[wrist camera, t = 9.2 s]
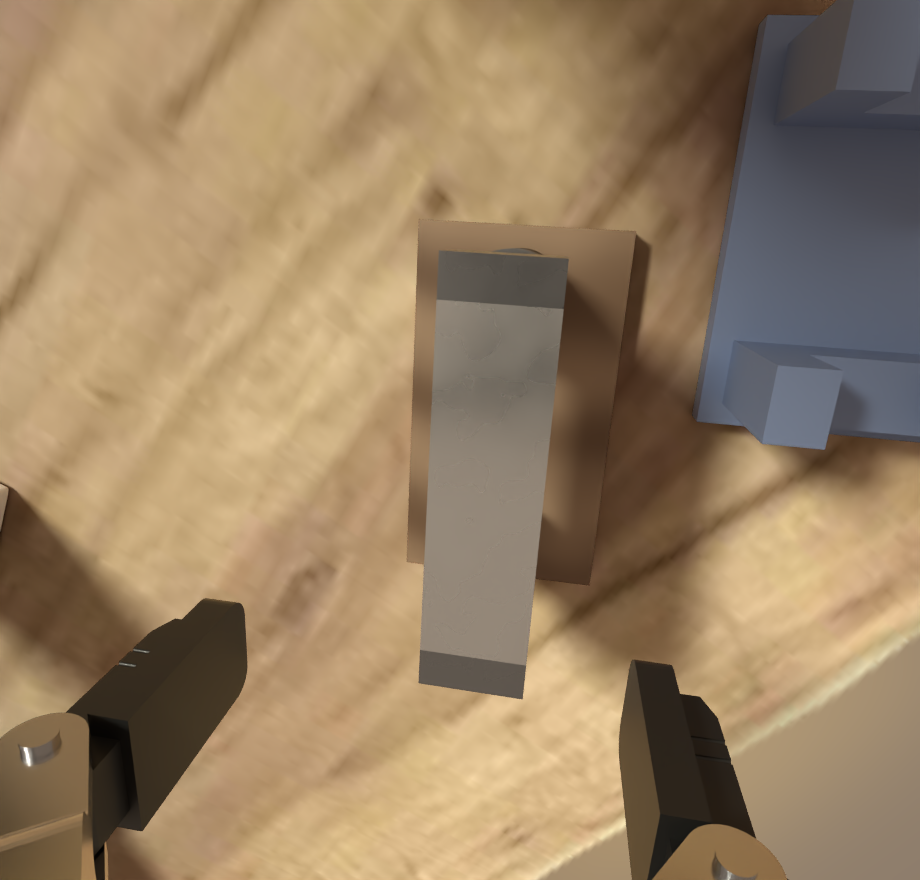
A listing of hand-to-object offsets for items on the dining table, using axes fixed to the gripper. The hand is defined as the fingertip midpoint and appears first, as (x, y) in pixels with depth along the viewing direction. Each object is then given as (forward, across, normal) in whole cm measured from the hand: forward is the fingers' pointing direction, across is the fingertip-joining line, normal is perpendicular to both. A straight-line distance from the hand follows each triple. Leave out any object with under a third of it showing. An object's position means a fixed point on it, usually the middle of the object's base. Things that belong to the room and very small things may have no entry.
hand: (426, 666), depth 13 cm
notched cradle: (+22, -15, -9) cm, 28 cm away
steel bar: (+14, 0, 0) cm, 14 cm away
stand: (+22, 0, 0) cm, 22 cm away
